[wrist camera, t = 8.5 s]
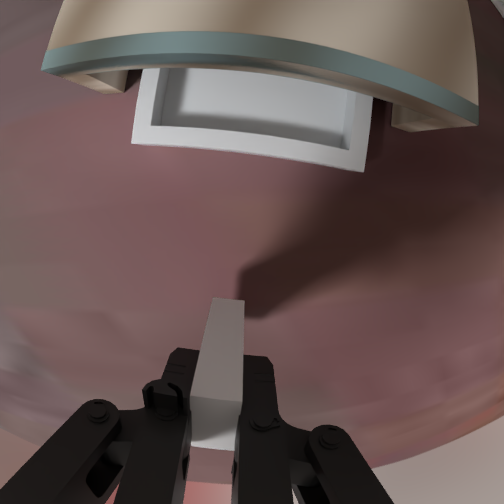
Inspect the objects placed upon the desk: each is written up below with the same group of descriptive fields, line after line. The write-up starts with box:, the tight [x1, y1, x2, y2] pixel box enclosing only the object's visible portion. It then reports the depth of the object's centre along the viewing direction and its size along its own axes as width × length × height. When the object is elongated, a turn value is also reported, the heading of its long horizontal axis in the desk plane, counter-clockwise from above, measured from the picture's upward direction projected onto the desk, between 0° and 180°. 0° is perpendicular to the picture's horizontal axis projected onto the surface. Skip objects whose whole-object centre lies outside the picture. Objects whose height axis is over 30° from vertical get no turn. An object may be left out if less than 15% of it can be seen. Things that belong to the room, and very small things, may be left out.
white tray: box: [131, 68, 373, 172], centre depth 10 cm, size 10×14×2 cm
